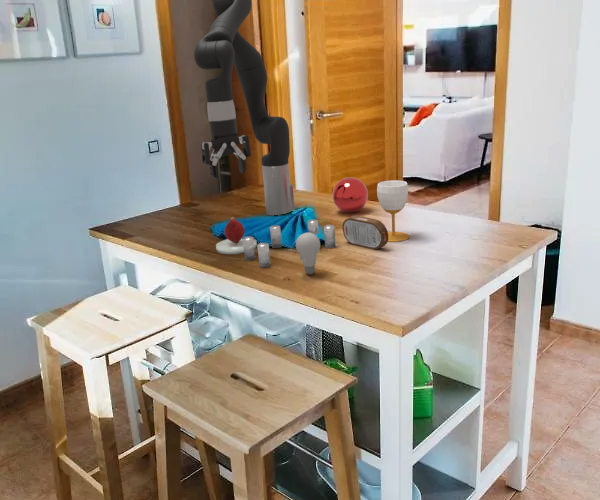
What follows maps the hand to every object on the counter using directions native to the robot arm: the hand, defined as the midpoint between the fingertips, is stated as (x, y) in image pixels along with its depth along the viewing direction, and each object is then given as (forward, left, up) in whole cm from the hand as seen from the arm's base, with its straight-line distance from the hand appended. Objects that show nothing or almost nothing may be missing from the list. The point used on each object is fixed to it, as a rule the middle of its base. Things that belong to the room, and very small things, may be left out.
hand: (229, 175), depth 171 cm
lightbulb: (-3, +33, -22) cm, 40 cm away
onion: (0, 0, -21) cm, 21 cm away
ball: (-47, -5, -22) cm, 52 cm away
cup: (-38, +26, -22) cm, 51 cm away
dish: (0, 0, -22) cm, 22 cm away
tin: (-27, +26, -22) cm, 44 cm away
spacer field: (-9, +15, -22) cm, 28 cm away
